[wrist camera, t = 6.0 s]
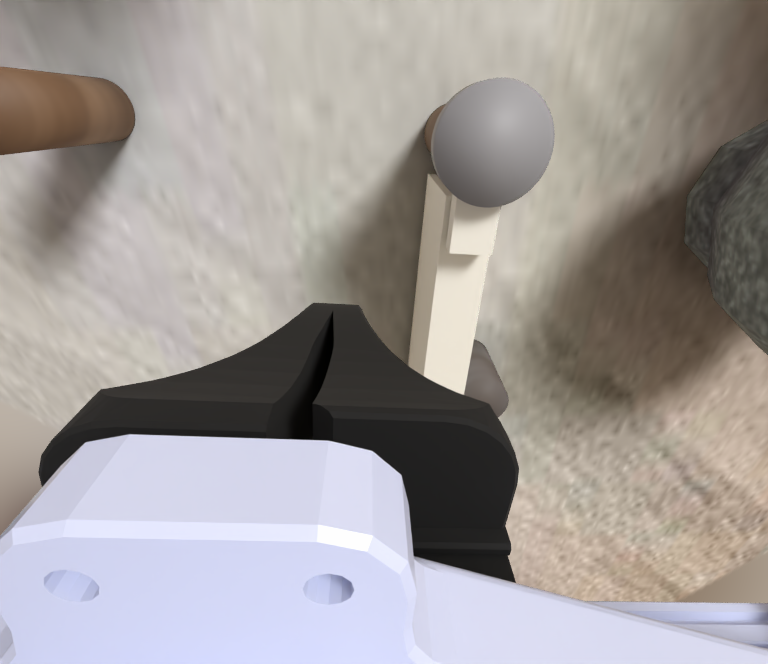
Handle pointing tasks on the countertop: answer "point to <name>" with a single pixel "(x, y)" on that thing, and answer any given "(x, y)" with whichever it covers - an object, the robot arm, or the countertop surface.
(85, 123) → the posts
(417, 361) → the gate
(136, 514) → the robot arm
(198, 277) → the countertop surface
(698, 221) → the mortar and pestle
